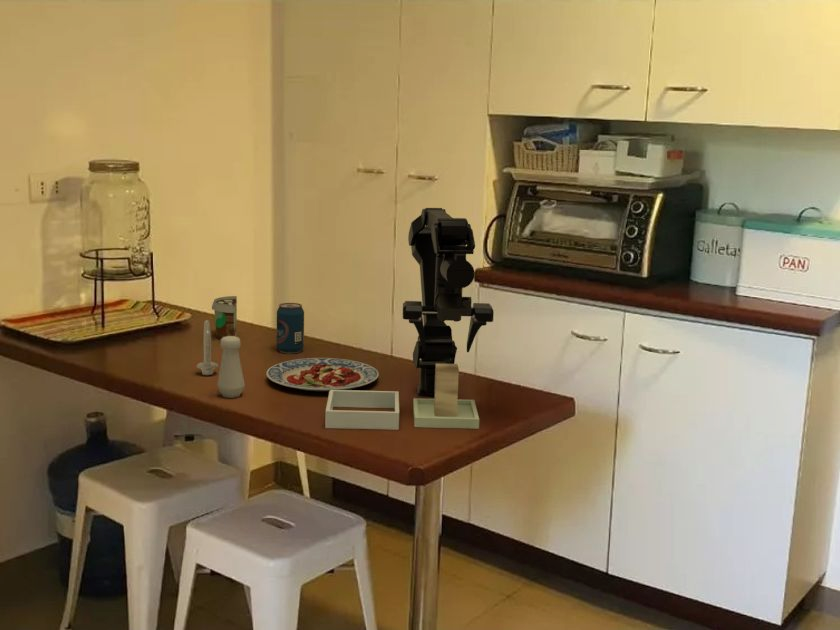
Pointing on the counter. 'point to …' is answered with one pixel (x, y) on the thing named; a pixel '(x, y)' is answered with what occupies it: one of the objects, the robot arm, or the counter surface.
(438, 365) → the birch peg
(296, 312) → the soda can
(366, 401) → the frame
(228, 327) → the food container
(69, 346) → the counter surface
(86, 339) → the counter surface
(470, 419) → the tray
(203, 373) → the screw
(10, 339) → the counter surface
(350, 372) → the ceramic plate
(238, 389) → the salt shaker
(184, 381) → the counter surface
